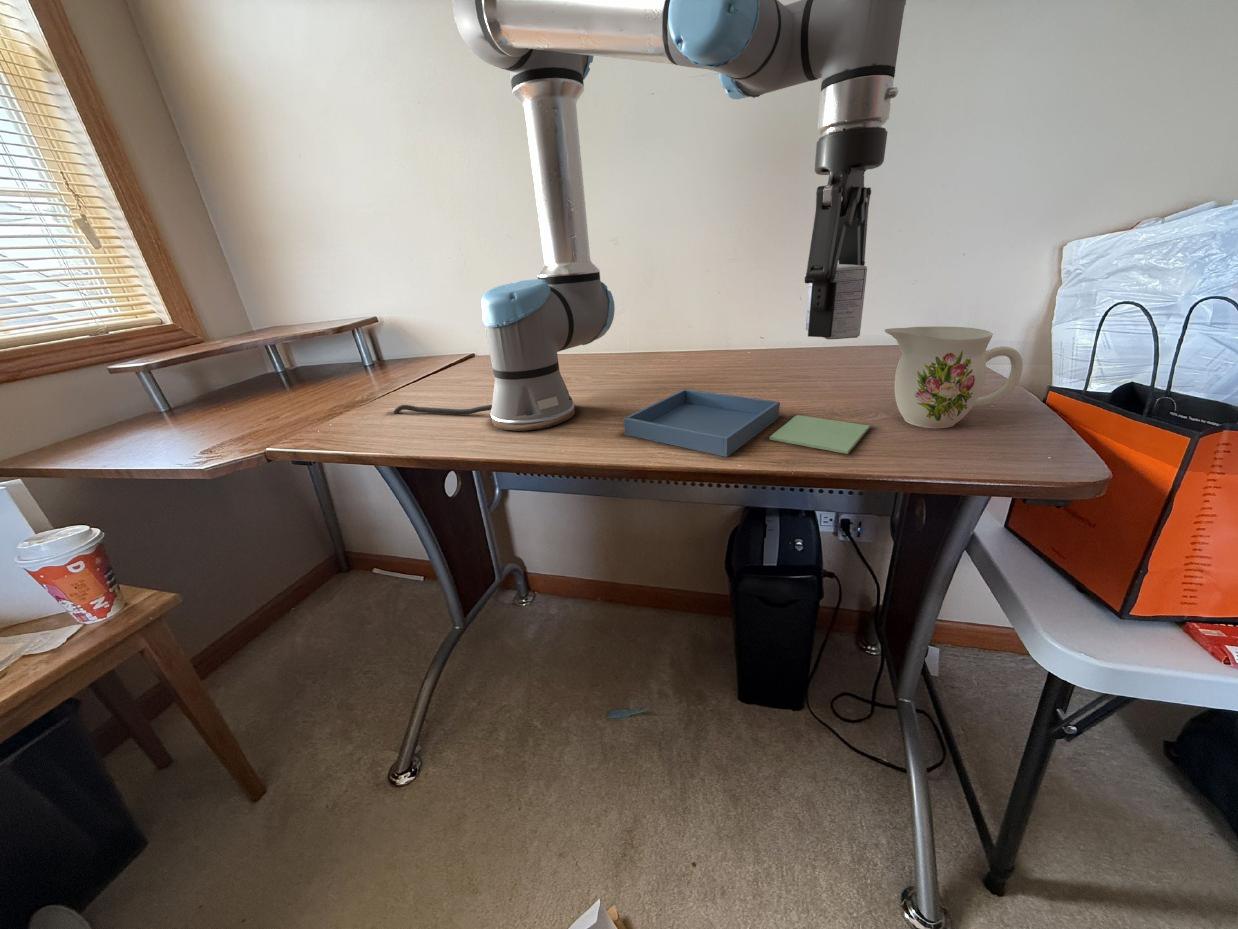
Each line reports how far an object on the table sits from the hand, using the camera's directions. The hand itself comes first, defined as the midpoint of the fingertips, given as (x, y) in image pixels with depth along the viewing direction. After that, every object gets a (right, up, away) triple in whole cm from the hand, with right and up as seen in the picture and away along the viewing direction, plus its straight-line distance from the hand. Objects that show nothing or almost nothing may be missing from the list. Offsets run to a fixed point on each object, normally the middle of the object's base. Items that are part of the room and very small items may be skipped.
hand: (831, 330), depth 65 cm
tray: (-15, -12, +13) cm, 23 cm away
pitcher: (+19, -12, +8) cm, 24 cm away
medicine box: (0, -1, 0) cm, 1 cm away
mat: (+1, -14, +6) cm, 15 cm away
